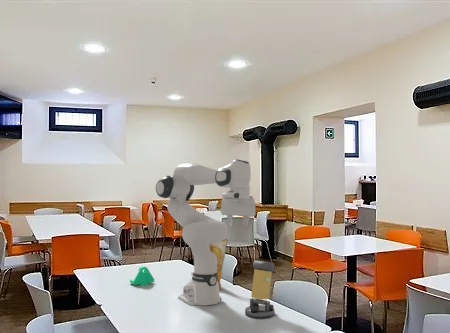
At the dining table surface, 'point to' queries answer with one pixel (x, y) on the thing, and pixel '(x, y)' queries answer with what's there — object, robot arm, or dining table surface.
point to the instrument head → (262, 281)
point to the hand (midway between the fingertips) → (238, 225)
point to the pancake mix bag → (219, 256)
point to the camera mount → (142, 277)
